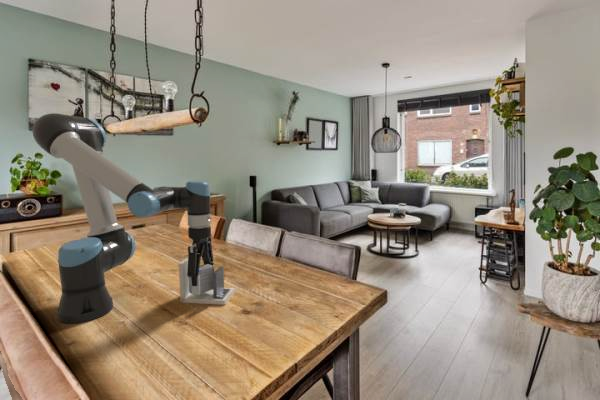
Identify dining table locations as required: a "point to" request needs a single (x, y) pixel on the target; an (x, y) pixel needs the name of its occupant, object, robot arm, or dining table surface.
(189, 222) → the robot arm
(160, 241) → the dining table surface
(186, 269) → the white l-shaped stand
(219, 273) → the bookend
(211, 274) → the medicine box
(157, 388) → the dining table surface
